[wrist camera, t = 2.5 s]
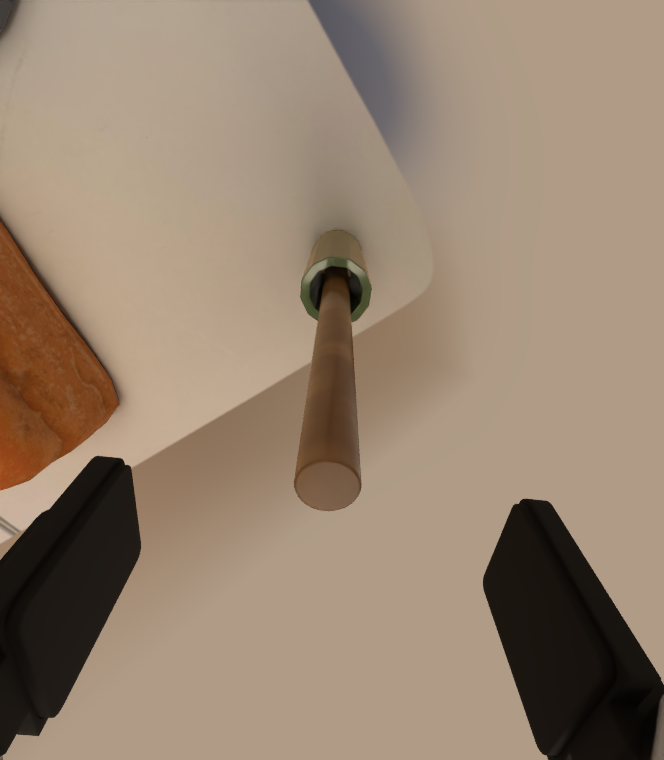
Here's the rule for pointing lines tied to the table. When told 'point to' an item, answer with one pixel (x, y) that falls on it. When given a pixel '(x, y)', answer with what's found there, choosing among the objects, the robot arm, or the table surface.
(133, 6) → the table surface
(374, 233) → the table surface
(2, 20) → the bowl
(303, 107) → the table surface
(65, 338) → the bread
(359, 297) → the utensil pot
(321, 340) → the wooden dowel rod
